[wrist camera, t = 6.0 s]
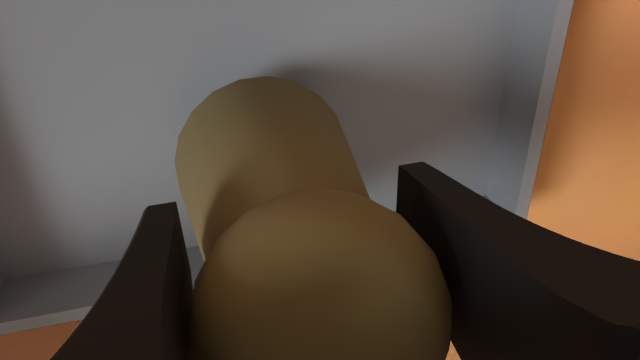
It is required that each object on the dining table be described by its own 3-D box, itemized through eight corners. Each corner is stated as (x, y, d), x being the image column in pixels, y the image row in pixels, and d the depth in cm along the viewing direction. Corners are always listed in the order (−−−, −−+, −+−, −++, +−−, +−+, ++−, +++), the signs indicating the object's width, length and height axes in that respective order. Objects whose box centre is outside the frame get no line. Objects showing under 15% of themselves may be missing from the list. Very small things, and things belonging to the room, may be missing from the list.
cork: (362, 210, 21) (517, 439, 11) (206, 260, 21) (225, 548, 11) (326, 54, 19) (484, 170, 9) (148, 105, 18) (102, 292, 8)
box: (490, 196, 27) (523, 234, 25) (-3, 283, 23) (-22, 339, 21) (557, -209, 18) (619, -211, 16) (-225, -179, 14) (-303, -175, 12)
